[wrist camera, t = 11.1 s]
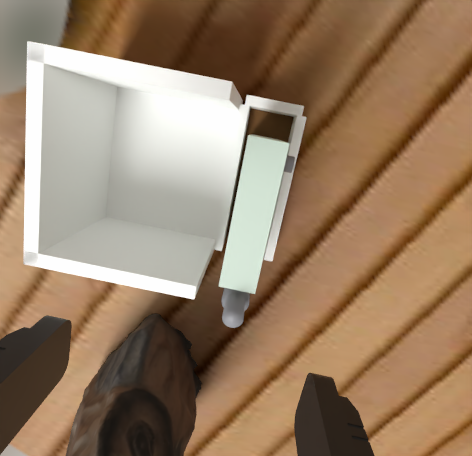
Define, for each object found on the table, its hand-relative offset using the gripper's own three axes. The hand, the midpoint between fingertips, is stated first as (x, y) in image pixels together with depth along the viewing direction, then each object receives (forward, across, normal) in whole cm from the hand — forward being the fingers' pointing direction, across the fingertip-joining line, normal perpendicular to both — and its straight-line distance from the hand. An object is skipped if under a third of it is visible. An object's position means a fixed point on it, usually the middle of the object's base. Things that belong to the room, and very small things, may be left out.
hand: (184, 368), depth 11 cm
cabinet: (+23, +4, -3) cm, 24 cm away
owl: (+24, +6, +20) cm, 31 cm away
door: (+23, -2, -3) cm, 24 cm away
